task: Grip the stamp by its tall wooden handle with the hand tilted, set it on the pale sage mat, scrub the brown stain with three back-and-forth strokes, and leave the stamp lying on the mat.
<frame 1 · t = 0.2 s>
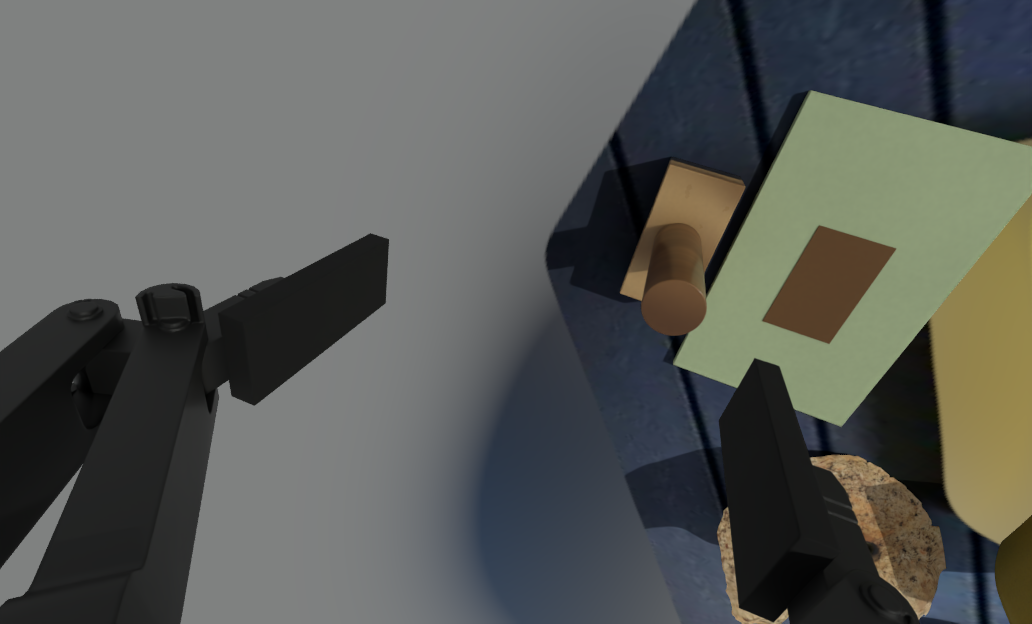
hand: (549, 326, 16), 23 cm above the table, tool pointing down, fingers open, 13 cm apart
mat: (826, 278, 34), on the table
pitted speckled stone: (816, 503, 42), on the table
stamp: (677, 230, 35), on the table
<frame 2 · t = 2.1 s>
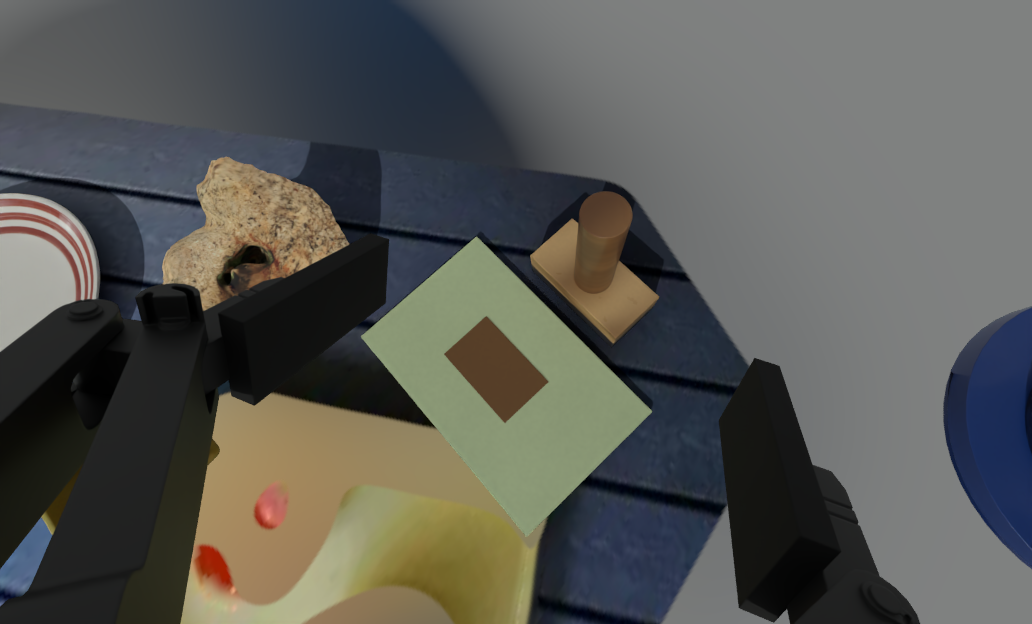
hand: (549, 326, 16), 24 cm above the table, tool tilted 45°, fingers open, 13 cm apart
mat: (499, 373, 40), on the table
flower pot: (185, 451, 41), on the table
pitted speckled stone: (284, 293, 44), on the table
stamp: (590, 289, 41), on the table
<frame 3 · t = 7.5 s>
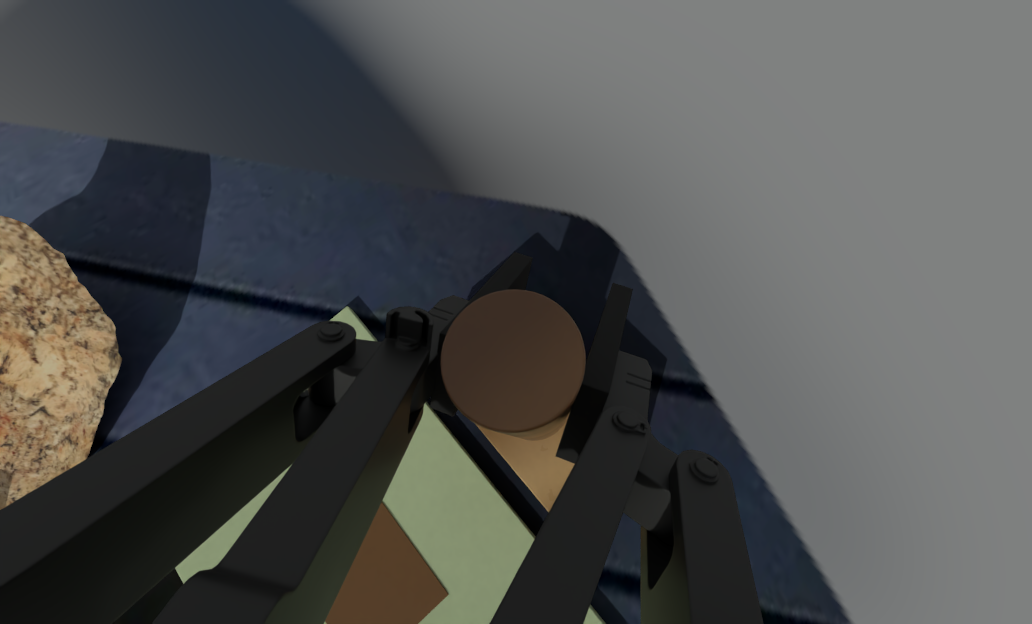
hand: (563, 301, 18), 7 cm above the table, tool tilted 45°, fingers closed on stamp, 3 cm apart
mat: (366, 565, 22), on the table
pitted speckled stone: (25, 392, 26), on the table
stamp: (536, 409, 23), on the table, touching gripper
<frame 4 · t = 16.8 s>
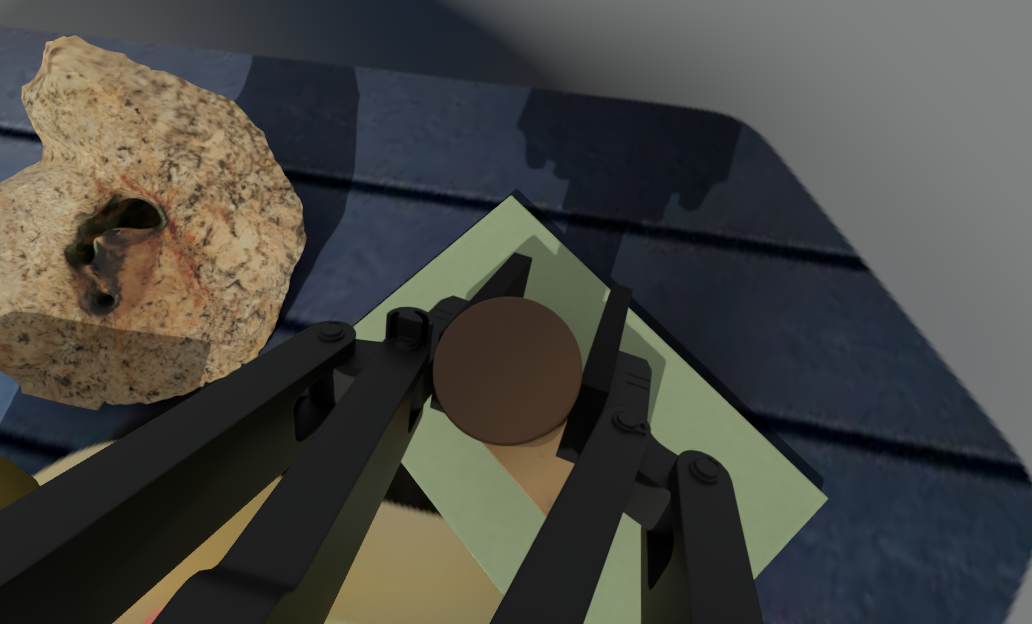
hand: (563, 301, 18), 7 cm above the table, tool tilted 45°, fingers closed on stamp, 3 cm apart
mat: (552, 421, 24), on the table
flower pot: (20, 545, 24), on the table
pitted speckled stone: (200, 280, 28), on the table
stamp: (533, 414, 23), point 1 cm above the table, touching gripper
when the fingers open (7 cm above the table, at t = 21.2 s): stamp stays where it is, resting on mat.
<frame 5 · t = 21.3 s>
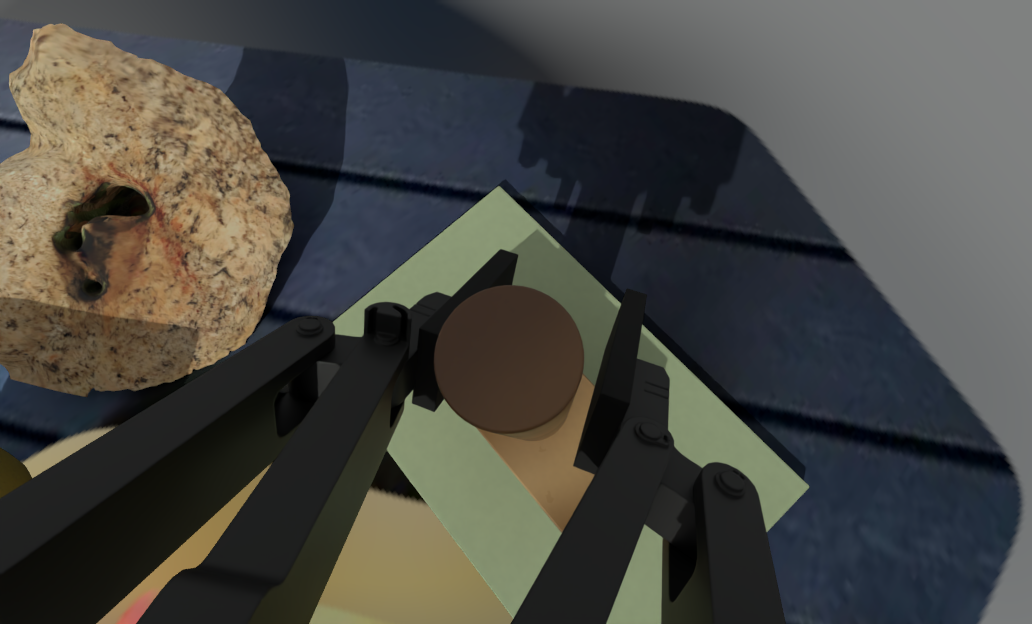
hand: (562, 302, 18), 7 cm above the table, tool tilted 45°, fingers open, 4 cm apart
mat: (537, 409, 24), on the table
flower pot: (9, 530, 24), on the table
pitted speckled stone: (189, 269, 28), on the table
stamp: (535, 409, 23), point 1 cm above the table, touching mat
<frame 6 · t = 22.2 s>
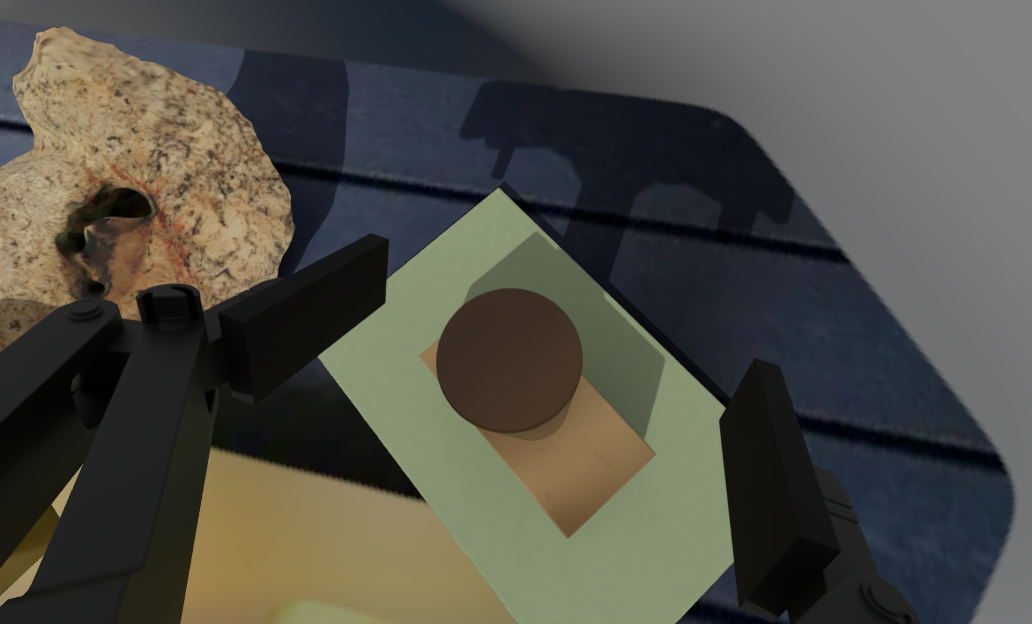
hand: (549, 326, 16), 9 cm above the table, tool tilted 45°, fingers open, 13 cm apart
mat: (536, 409, 24), on the table
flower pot: (13, 529, 25), on the table
pitted speckled stone: (190, 270, 28), on the table
stamp: (534, 409, 23), point 1 cm above the table, touching mat
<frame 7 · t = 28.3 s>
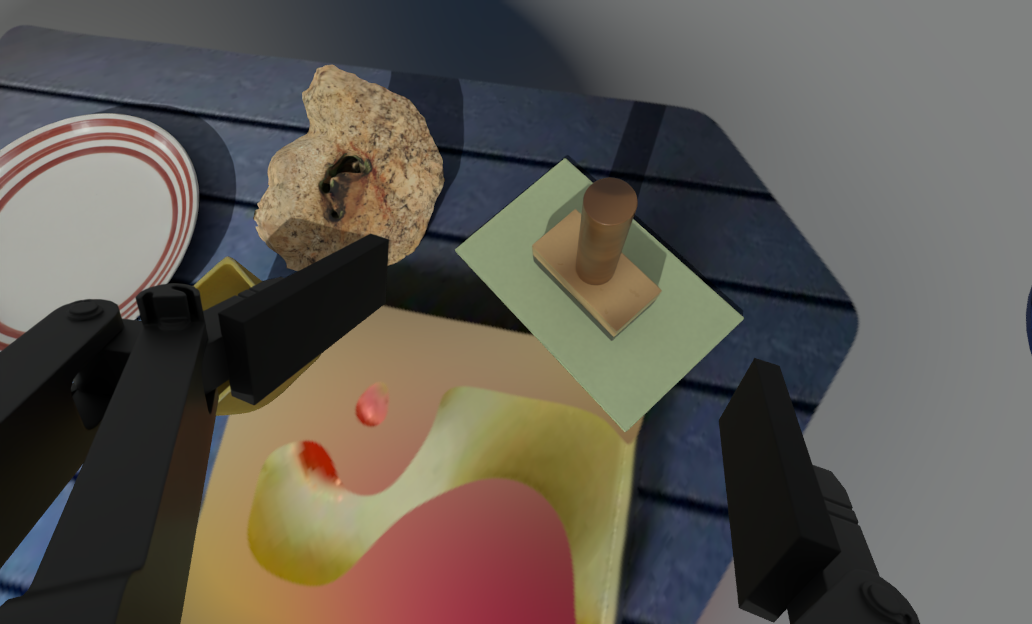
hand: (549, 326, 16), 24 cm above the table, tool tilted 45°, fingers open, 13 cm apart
dinner plate: (90, 244, 47), on the table
mat: (592, 284, 41), on the table
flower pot: (285, 356, 42), on the table
pitted speckled stone: (372, 209, 46), on the table
stamp: (591, 282, 41), point 1 cm above the table, touching mat
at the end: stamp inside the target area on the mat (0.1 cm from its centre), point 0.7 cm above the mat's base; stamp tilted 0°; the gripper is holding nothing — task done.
